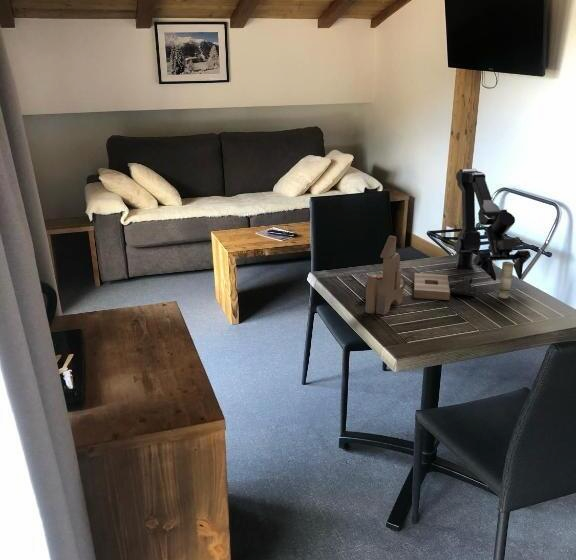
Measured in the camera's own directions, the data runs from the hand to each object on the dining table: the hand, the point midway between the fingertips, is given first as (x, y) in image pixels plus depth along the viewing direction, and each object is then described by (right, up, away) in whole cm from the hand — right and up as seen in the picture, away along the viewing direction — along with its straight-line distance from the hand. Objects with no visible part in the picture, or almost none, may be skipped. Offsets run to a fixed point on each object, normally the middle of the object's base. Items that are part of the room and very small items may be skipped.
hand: (507, 279), depth 198 cm
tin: (-42, -6, +4) cm, 43 cm away
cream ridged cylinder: (0, -6, +3) cm, 7 cm away
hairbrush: (-11, -3, +13) cm, 17 cm away
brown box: (-24, -4, +10) cm, 27 cm away
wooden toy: (-44, -10, -5) cm, 45 cm away
